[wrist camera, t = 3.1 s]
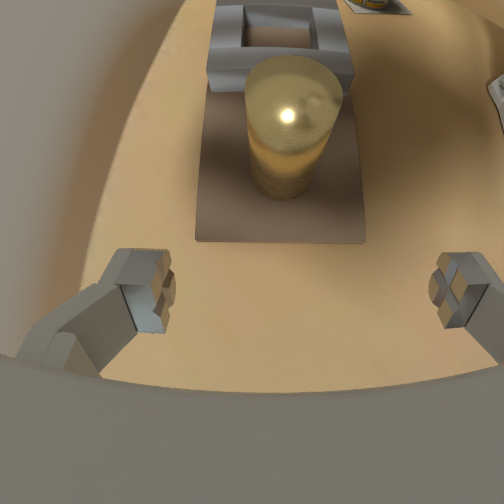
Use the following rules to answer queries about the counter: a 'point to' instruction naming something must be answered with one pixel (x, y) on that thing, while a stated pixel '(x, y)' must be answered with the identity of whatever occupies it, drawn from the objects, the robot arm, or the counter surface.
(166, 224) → the counter surface
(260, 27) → the jig
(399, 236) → the counter surface
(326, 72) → the translucent yellow cylinder
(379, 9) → the condiment
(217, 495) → the robot arm
